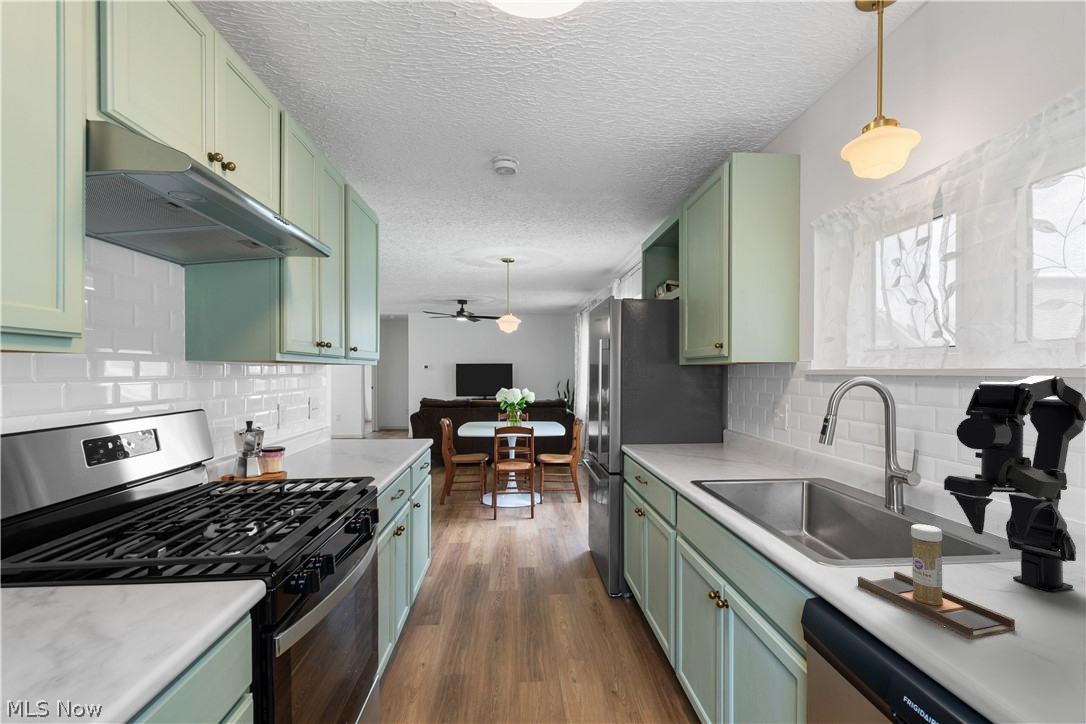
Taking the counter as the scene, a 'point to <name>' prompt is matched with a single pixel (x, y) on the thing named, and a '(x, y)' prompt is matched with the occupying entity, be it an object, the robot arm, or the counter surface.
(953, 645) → the counter surface
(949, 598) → the board
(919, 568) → the sprinkles bottle
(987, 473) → the robot arm
